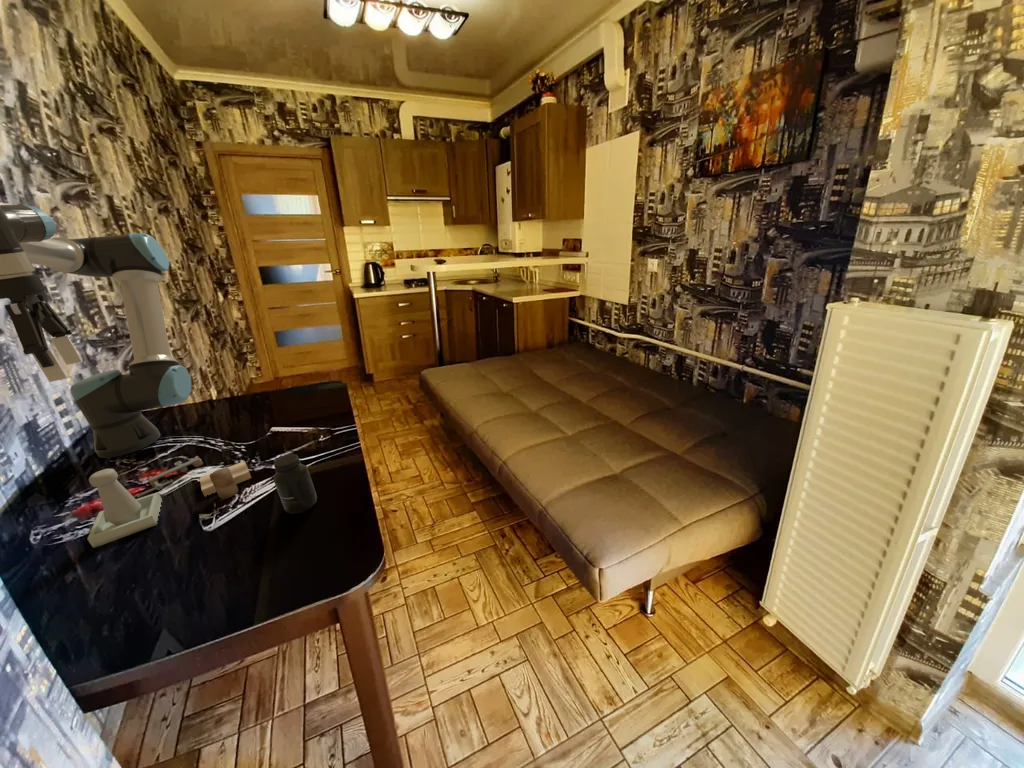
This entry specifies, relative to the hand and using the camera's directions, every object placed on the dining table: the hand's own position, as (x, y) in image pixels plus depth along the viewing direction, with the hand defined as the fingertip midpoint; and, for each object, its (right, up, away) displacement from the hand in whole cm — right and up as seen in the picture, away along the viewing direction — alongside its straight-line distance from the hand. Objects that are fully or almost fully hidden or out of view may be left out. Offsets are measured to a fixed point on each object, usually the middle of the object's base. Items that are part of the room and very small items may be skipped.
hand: (67, 371), depth 92 cm
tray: (+15, -34, -1) cm, 37 cm away
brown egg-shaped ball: (+33, -29, +6) cm, 44 cm away
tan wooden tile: (+29, -28, +11) cm, 42 cm away
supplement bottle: (+54, -30, -1) cm, 62 cm away
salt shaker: (+15, -34, -1) cm, 37 cm away
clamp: (+11, -28, +15) cm, 34 cm away
